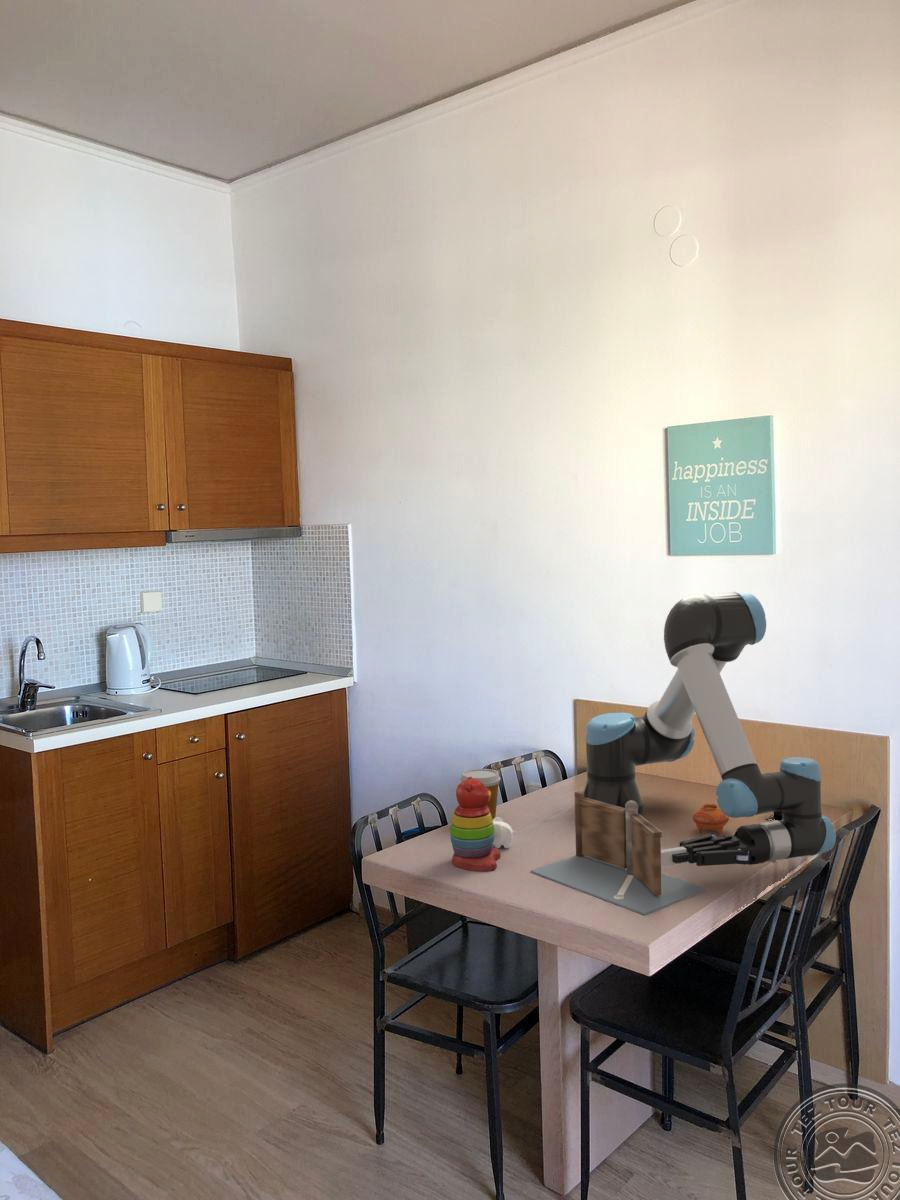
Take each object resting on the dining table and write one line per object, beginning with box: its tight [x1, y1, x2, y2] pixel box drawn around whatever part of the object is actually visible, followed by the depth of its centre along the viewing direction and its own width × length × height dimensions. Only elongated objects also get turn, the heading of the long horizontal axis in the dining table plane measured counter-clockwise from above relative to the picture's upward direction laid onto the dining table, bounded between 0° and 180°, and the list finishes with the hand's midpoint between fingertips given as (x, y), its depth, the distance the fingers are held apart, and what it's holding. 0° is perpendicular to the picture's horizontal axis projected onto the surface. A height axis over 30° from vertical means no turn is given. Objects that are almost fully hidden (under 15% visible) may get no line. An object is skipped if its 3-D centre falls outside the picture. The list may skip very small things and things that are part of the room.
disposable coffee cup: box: [460, 768, 501, 820], centre depth 234 cm, size 10×10×12 cm
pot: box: [692, 803, 730, 836], centre depth 222 cm, size 8×8×7 cm
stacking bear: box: [449, 777, 501, 872], centre depth 207 cm, size 11×10×18 cm
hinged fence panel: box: [630, 814, 663, 895], centre depth 190 cm, size 12×2×12 cm, turn 10°
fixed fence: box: [574, 791, 638, 875], centre depth 203 cm, size 17×3×15 cm, turn 38°
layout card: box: [530, 855, 708, 916], centre depth 195 cm, size 30×18×1 cm, turn 38°
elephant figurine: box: [492, 816, 518, 850], centre depth 217 cm, size 7×8×6 cm
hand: (654, 859), depth 188 cm, fingers closed
